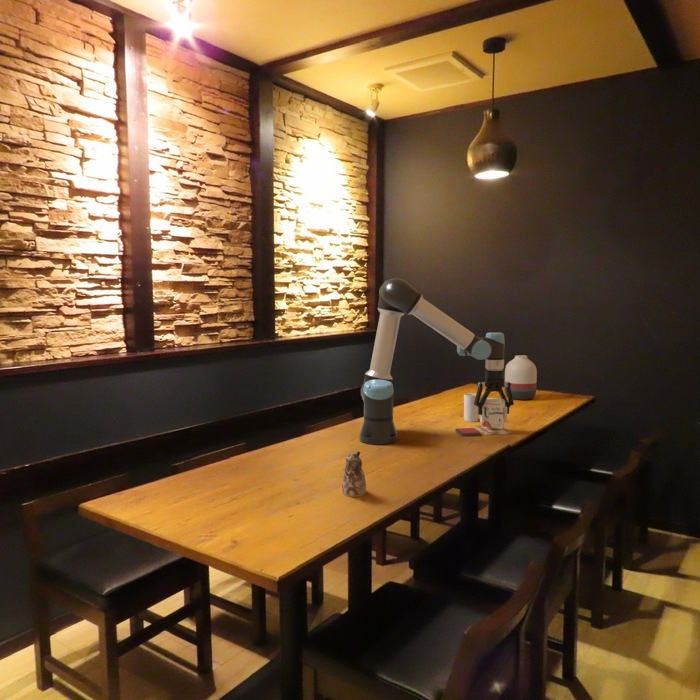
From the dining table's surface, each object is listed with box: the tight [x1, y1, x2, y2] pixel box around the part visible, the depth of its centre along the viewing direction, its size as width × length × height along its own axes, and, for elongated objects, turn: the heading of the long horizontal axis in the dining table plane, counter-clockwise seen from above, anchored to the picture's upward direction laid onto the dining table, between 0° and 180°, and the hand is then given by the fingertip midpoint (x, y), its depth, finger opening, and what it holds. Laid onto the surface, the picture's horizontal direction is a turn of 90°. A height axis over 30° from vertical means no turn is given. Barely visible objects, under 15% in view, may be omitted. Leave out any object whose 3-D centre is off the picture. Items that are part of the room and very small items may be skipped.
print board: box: [475, 425, 513, 436], centre depth 253 cm, size 11×13×1 cm
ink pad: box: [454, 427, 483, 437], centre depth 248 cm, size 8×10×1 cm
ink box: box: [481, 397, 506, 429], centre depth 252 cm, size 9×5×12 cm, turn 62°
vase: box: [504, 354, 538, 401], centre depth 329 cm, size 17×17×24 cm
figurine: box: [341, 450, 367, 498], centre depth 174 cm, size 7×7×12 cm
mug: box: [463, 392, 482, 423], centre depth 273 cm, size 10×7×12 cm, turn 76°
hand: (493, 422), depth 252 cm, fingers closed on ink box, 9 cm apart
